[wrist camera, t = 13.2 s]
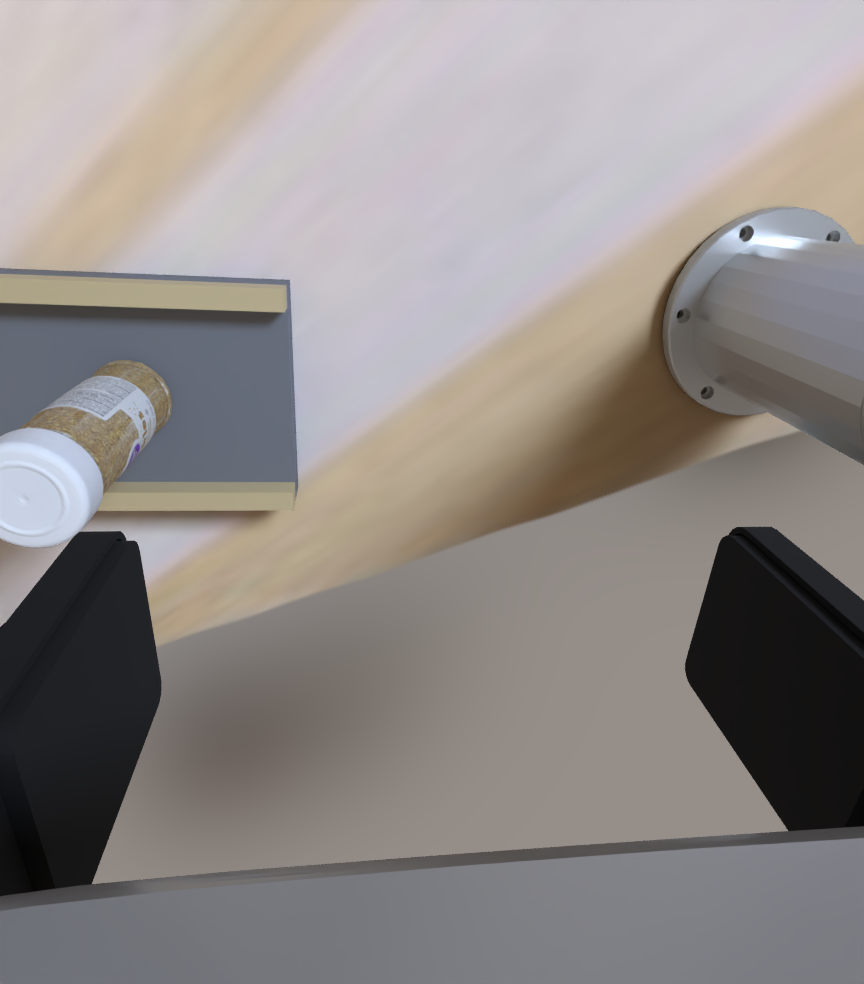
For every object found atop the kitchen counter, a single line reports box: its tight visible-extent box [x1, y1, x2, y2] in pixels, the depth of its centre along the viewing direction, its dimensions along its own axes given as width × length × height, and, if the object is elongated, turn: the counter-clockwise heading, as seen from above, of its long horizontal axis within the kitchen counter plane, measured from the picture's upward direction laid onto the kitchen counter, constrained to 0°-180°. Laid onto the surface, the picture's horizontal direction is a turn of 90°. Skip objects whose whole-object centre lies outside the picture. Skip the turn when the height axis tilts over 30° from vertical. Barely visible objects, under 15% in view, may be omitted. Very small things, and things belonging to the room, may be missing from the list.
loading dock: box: [0, 268, 298, 511], centre depth 36 cm, size 18×13×4 cm
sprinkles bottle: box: [0, 360, 172, 548], centre depth 30 cm, size 5×5×14 cm
